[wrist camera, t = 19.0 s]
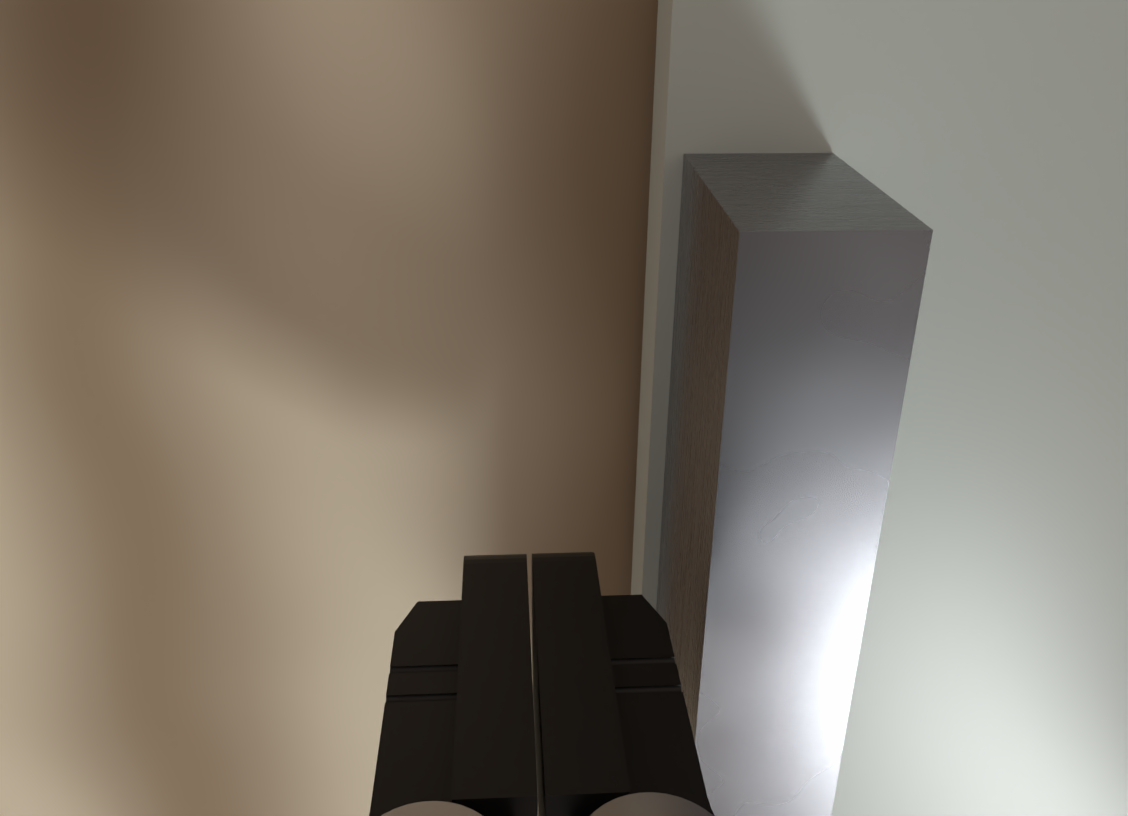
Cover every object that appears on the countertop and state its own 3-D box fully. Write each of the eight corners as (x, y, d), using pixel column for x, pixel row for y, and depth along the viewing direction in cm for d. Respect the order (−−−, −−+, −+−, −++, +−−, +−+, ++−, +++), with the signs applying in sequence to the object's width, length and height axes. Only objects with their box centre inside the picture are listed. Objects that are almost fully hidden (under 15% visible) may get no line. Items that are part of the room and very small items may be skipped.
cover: (1686, -52, 11) (2189, -30, 8) (1282, 837, 18) (1468, 1060, 14) (660, -59, 11) (734, -38, 7) (618, 866, 17) (648, 1107, 14)
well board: (1774, -429, 12) (2058, -502, 10) (1226, 858, 22) (1308, 966, 20) (-530, -495, 11) (-796, -596, 9) (-18, 913, 21) (-80, 1036, 18)
